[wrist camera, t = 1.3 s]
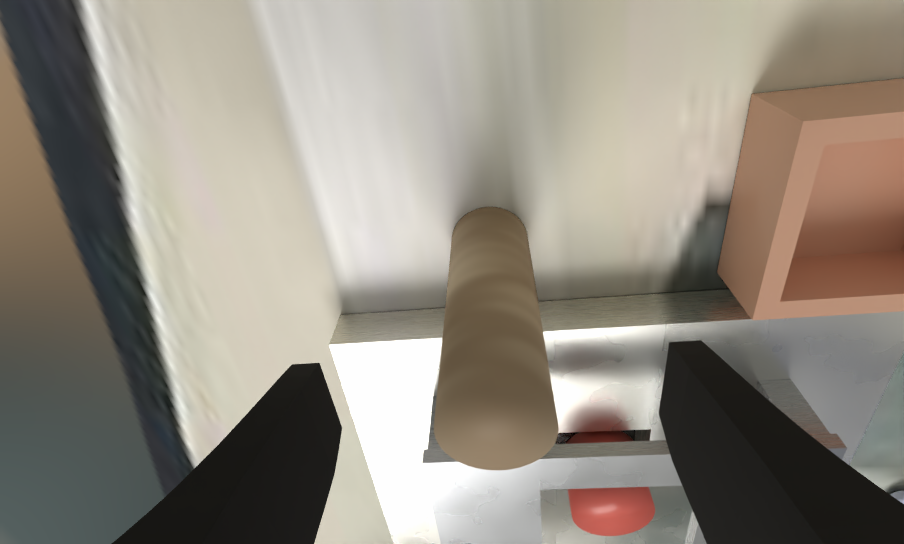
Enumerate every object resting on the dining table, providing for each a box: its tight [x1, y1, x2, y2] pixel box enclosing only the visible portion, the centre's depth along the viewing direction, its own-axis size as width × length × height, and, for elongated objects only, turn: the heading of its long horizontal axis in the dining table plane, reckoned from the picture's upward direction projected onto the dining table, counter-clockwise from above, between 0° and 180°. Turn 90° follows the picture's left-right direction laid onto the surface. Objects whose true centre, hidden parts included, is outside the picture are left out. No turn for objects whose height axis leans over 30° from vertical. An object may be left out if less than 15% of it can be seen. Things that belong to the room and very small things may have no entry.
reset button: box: [565, 431, 655, 536], centre depth 18 cm, size 3×3×2 cm
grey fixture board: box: [329, 289, 904, 544], centre depth 19 cm, size 18×13×4 cm
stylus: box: [434, 207, 559, 470], centre depth 13 cm, size 2×2×8 cm
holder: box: [717, 78, 904, 320], centre depth 13 cm, size 6×6×2 cm
